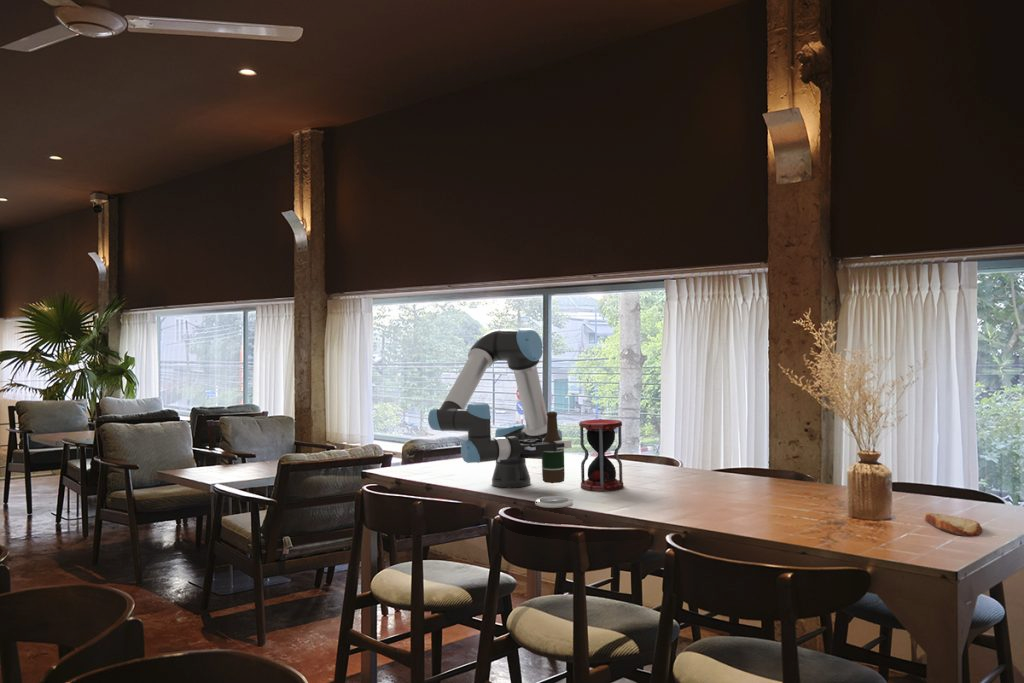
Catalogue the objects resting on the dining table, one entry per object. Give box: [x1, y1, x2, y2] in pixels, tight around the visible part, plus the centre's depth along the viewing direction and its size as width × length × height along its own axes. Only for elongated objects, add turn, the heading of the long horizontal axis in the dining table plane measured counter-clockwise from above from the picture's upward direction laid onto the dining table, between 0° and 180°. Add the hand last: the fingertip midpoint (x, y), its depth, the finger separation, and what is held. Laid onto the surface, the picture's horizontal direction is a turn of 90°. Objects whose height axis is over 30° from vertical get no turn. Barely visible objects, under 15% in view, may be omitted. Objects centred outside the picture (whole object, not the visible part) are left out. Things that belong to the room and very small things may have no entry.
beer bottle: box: [541, 411, 565, 484], centre depth 285 cm, size 8×8×24 cm
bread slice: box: [923, 512, 983, 538], centre depth 240 cm, size 18×18×4 cm
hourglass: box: [578, 418, 624, 492], centre depth 312 cm, size 16×16×25 cm
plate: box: [534, 495, 574, 509], centre depth 285 cm, size 13×13×1 cm
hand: (564, 442), depth 287 cm, fingers closed on beer bottle, 7 cm apart
